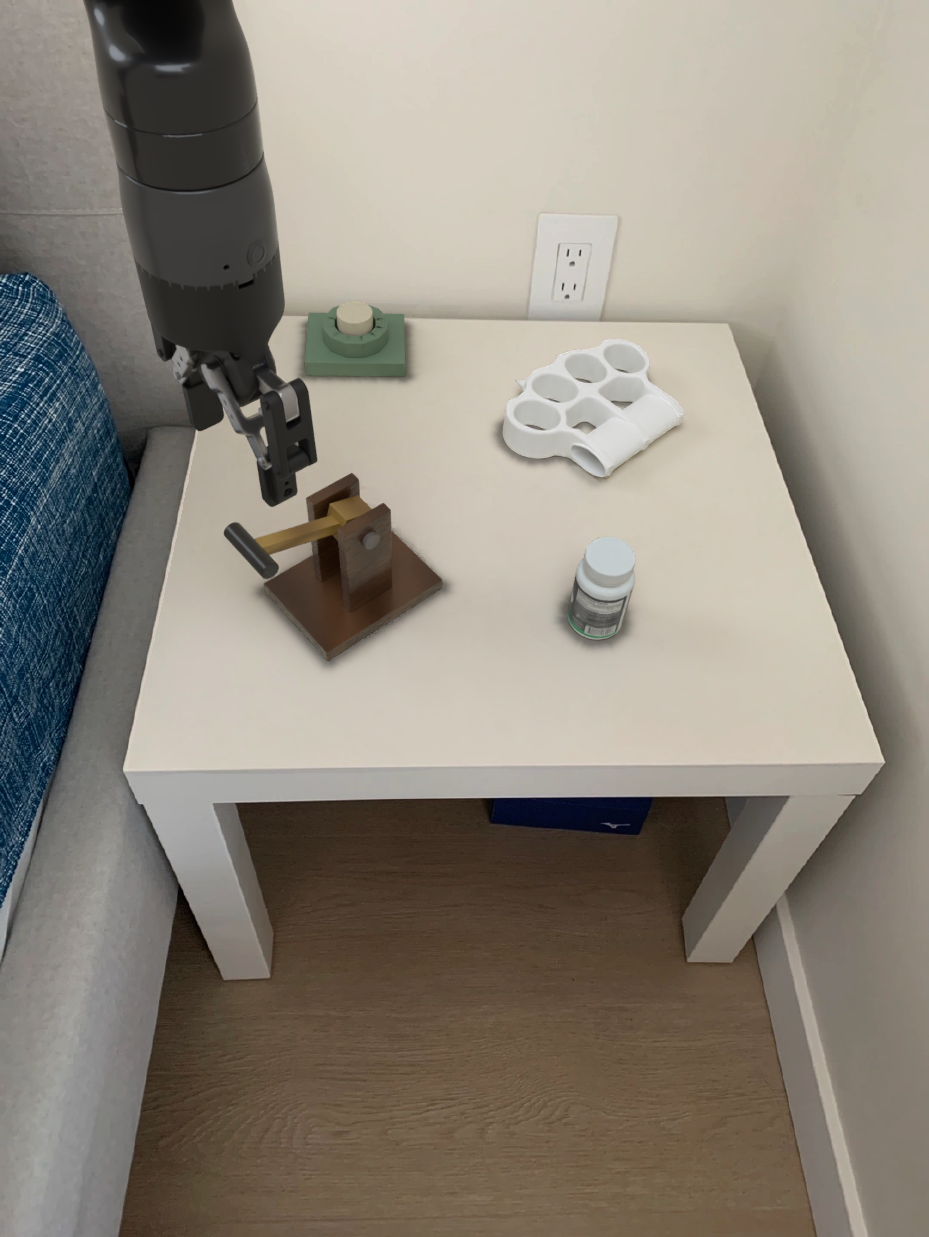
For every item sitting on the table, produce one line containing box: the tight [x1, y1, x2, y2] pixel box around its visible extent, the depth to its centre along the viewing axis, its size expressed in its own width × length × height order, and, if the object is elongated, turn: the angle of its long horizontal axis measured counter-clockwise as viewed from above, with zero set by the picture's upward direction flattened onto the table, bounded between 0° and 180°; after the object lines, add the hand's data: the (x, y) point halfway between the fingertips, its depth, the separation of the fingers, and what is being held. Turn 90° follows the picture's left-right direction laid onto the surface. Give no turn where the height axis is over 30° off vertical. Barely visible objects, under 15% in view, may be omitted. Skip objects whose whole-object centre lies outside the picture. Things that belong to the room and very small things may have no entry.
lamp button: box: [336, 300, 373, 336], centre depth 98 cm, size 4×4×2 cm
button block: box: [304, 304, 406, 377], centre depth 100 cm, size 10×8×4 cm
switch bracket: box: [263, 472, 443, 661], centre depth 79 cm, size 12×9×11 cm
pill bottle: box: [567, 536, 637, 641], centre depth 79 cm, size 5×5×8 cm
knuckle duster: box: [502, 338, 685, 478], centre depth 96 cm, size 3×18×15 cm
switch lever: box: [223, 495, 373, 580], centre depth 73 cm, size 11×5×2 cm, turn 130°
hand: (243, 460), depth 64 cm, fingers open, 8 cm apart
